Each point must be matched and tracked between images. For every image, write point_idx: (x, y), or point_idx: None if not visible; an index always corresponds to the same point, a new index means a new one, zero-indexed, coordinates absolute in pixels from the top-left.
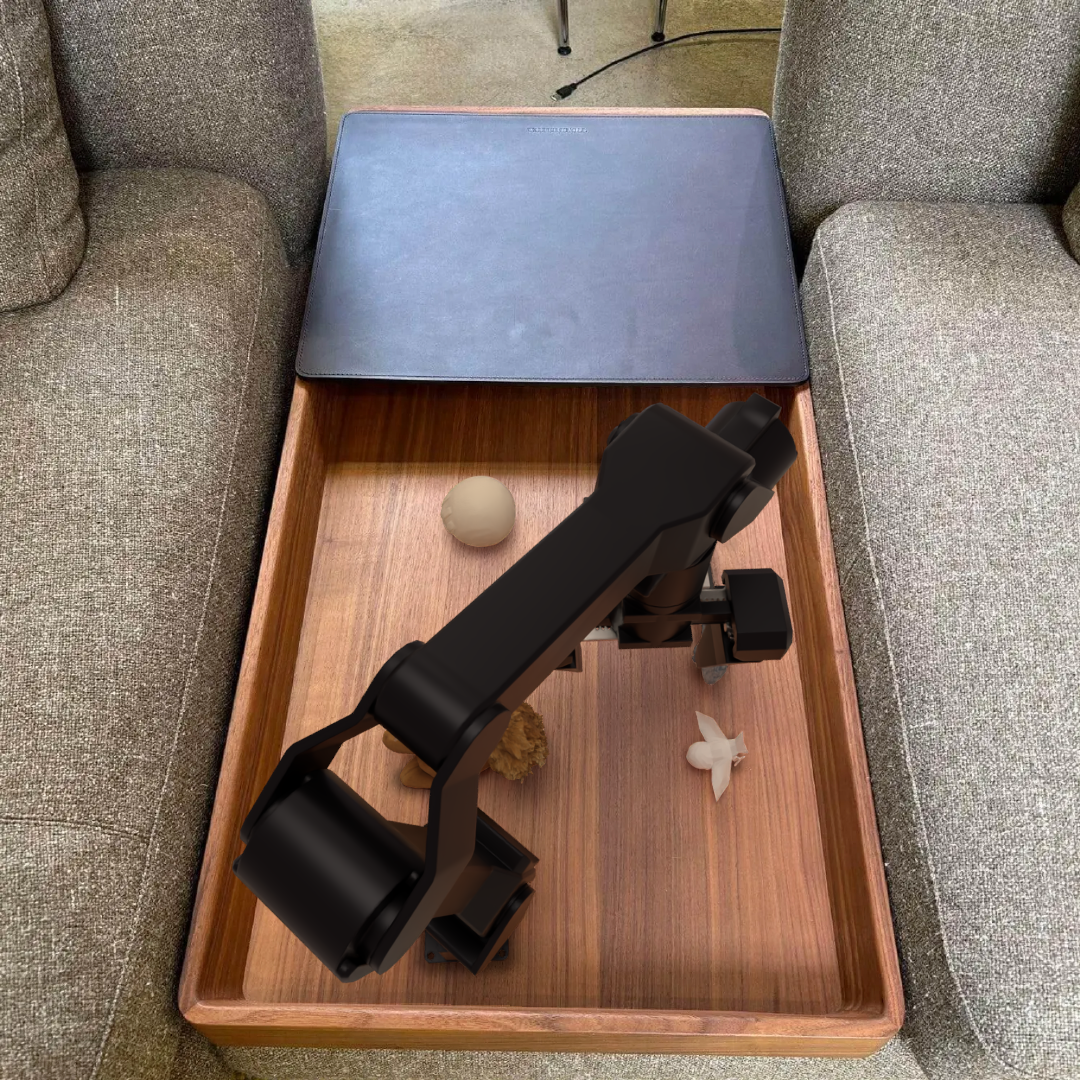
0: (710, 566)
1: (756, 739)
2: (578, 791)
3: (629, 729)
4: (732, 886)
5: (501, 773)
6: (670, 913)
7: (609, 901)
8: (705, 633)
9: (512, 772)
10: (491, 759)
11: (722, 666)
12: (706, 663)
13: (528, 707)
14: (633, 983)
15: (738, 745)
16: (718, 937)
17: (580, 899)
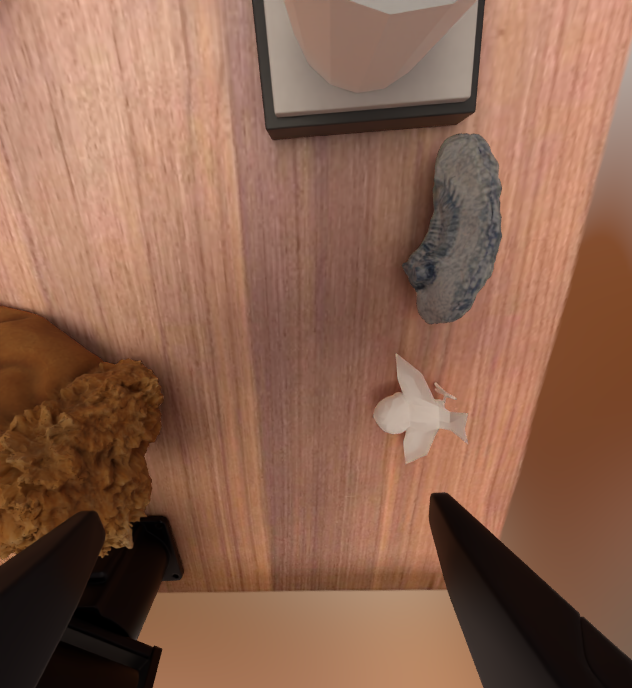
0: (481, 27)
1: (474, 372)
2: (234, 439)
3: (297, 364)
4: (407, 517)
5: None
6: (339, 538)
7: (277, 531)
8: (528, 665)
9: None
10: None
11: (461, 314)
12: (485, 685)
13: (105, 415)
14: (302, 582)
15: (454, 426)
16: (385, 553)
17: (248, 530)
